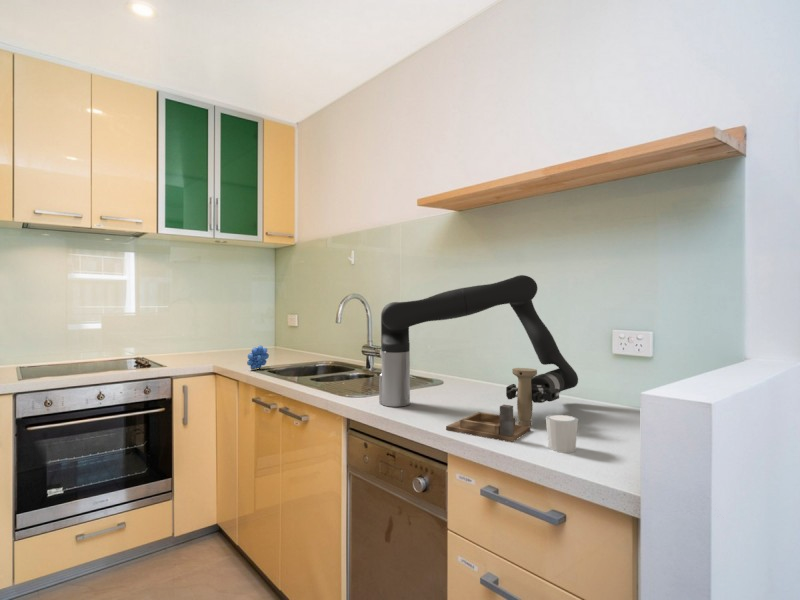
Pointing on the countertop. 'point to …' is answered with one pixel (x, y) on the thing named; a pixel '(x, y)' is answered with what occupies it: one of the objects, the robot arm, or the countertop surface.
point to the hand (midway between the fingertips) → (521, 397)
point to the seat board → (491, 425)
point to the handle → (524, 394)
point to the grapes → (257, 357)
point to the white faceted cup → (562, 432)
